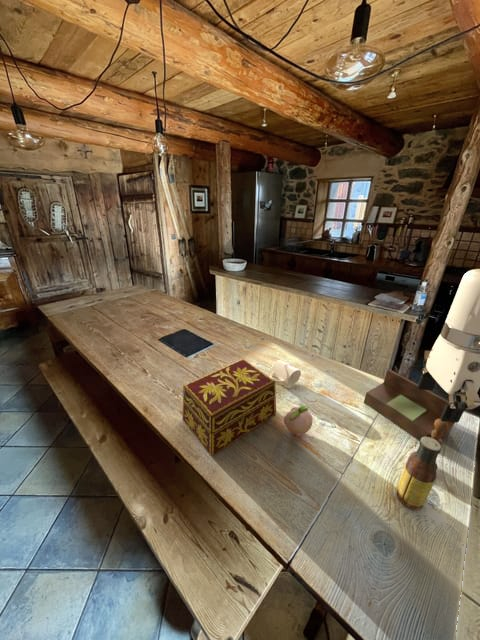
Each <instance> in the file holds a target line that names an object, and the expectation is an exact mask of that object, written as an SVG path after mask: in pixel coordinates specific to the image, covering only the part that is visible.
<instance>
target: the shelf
mask: <svg viewBox="0 0 480 640" xmlns="http://www.w3.org/2000/svg"><path fill="white" fill-rule="evenodd" d="M418 384H419V383H416V382H414V381H413V380H411V379H409V378H407V377H405V376H403V375H402V374H399V373H398V372H395V371H394V370H392V369H390V368H389V369H387V370H386V373H385V376H384V379H383V382H382V383H380V384H378V385H376V386H375V387H372V388H371V389H370V390H368V391H366V392H365V396H364V399H363V403H364V404H365V405H367V406H368V407H370V408H371V409H372V410H374V411H375V412H377V413H378V414H380V415H381V416H383V418H386V420H388V421H390V422H391V423H393V424H394V425H396V426H397V427H399V428H400V429H401V430H403V431H404V432H405V433H407V434H408V435H410V436H411V437H413V438H414V439H416V440H417V441H418V442H420V440H421V438H422V437H425V436H426V435H427V434H432V431H433V430H435V425H434V422H435V421H436V420H437V419H440V417H441V415H442V413H443V410H444V408H445V406H446V404H449V399H446V398H444V397H442V396H440V395H438V394H437V393H435V392H434V391H433V392H432V390H421V389H418V387H417V386H418ZM447 423H448V426H449V427H448V429H447V430H446V431H444V432H441V434H442V437H441V438H440V439H441V440H442V441H443V440H444V439H445V438H446V437H448V435H450V433H451V432H452V429H453V427H454V425H455V424H456V423H454V422H447Z"/></svg>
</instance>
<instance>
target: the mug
mask: <svg viewBox="0 0 480 640" xmlns="http://www.w3.org/2000/svg"><path fill="white" fill-rule="evenodd" d="M301 376H302V371H301V370H300V369H299V368H296V367H294V366H292V365H291V364H290V363H287V362H285V361H283V360H281V359H278V360H276V361H275V362H274V363H273V364H272V365H271V368H270V370H269V377H270V378H271V379H273V380H274V381H275V385H279V386H283V387H285V388H287V389H291V388H292V387H295V385H297V383H298V382H299V380H300V378H301Z"/></svg>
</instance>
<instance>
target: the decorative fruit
mask: <svg viewBox="0 0 480 640" xmlns="http://www.w3.org/2000/svg"><path fill="white" fill-rule="evenodd" d="M283 419H284V420H283V421H284V425H285V428H286V429H287V430H288V431H289V432H290V433H291V434H293V435H305V434H307V433H308V432H309V431H310V430H311V428H312V426H313V416H312V414H311V412H310V411H309V407H308V406H307V405H295V406H293V407H292V408H290V411H288V412H287V413H286V414H285V416H284V418H283Z"/></svg>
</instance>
